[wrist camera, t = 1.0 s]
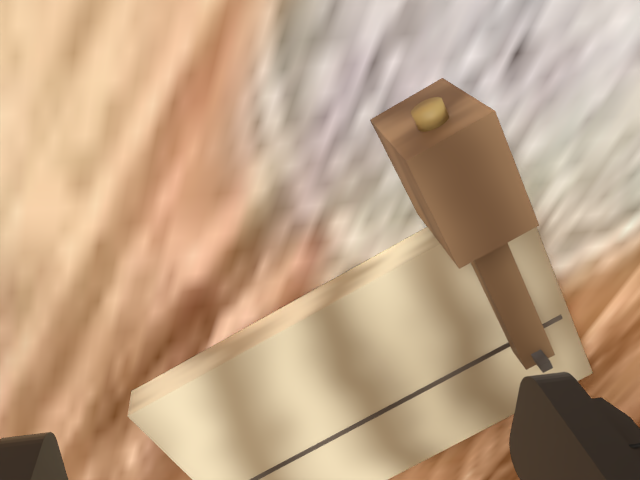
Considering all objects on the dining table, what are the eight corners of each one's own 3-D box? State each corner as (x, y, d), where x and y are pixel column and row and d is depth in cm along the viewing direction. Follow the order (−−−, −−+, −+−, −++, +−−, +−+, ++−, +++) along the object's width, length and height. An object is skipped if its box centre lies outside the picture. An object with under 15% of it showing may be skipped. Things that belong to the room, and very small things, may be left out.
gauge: (436, 63, 29) (488, 93, 23) (538, 306, 37) (594, 369, 31) (363, 105, 29) (398, 145, 24) (480, 337, 37) (526, 405, 32)
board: (507, 182, 32) (525, 197, 30) (575, 353, 39) (593, 373, 37) (131, 391, 34) (127, 416, 32) (257, 519, 41) (260, 546, 39)
